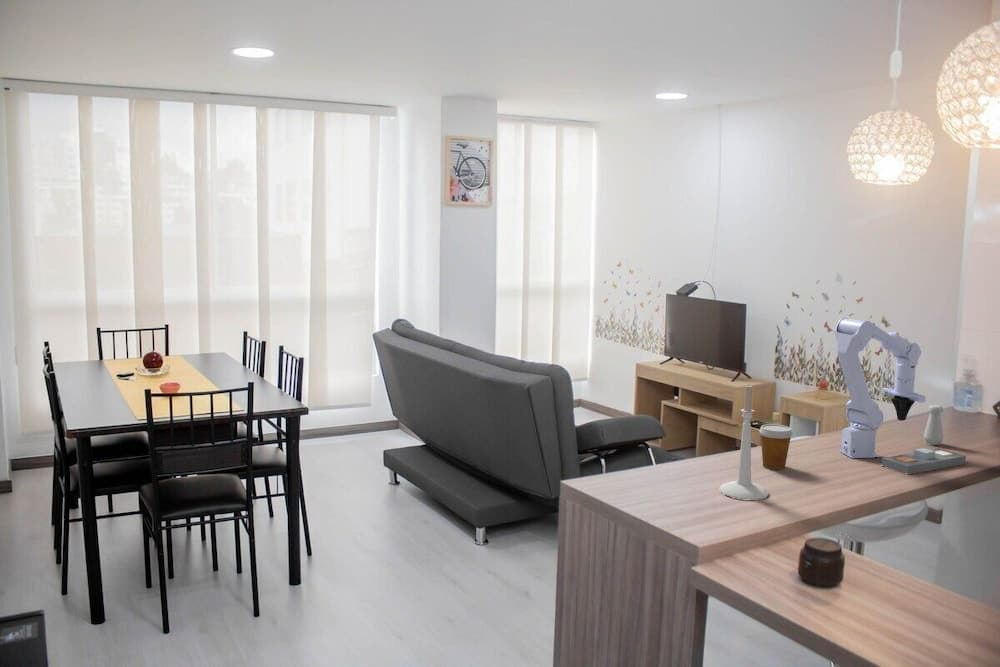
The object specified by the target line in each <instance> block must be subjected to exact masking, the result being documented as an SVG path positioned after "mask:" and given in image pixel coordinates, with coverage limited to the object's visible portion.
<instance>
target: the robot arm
mask: <svg viewBox="0 0 1000 667" xmlns="http://www.w3.org/2000/svg"><path fill="white" fill-rule="evenodd" d="M833 333H834V336H835V339H836V342H837V356H838V358H839V362H840V365H841V369H842V374H843V378H844V379H845V384H846V388H847V390H848V395H849V397H850V400H848V401H847V402H846V403H845V408H846V409H845V410H846V412H845V417H846V419H847V421H848V422H849V426H848V427H844V428H843V429H842V431H841V439H840V440H841V441H840V449H839V452H840V453H842V454H844V455H846V456H848V457H849V458H851V459H869V458H871V459H872V458H874V459H875V457H877V458H881V455H879V454H877V453H875V452H876V438H877V430H878V429H879V428H880V427H881V425H882V424H883V421H884V413H883V411H882V410H881V409H880V408H879V407H880V406H879V404H878V403H877V402H876V401H875V400H874V399H872V398H871V396H870V392H869V389H868V386H867V381H866V379H865V373H864V371H863V367H862V362H861V360H860V356H859V352H862V351H864V349H865V348H866V346H867V345H868V343H870V341H871V340H872V339H873V340H875V341H877V342H880V346H881V347H882V348H883V349H884V350H886V351H888V352H890V353H891V354H892V356H893V357H894V358H895V370H894V372H895V374H894V385H893V386H894V387H893V388H890V387H883V388H882V391H881V392H882V395H888V396H893V397H891V399H890V400H891V403H892V404H893V407H894V409H895V413H896V418H897V421H900V422H902V421H906V420H907V416H908V414H909V411H910V409H911V408H912V407H913V405H914V404H915V402H918V403H921V404H922V403H926V399H927V398H926V397H927V396H926V395H922V394H919V393H917V392H915V380H916V367H917V365H918V364H919V363H918V362H919V359H920V357H921V354H922V350H921V347H920V345H919V344H918V343H916V342H912V341H909V339H908V338H907V337H902V335H900V333H899V332H898V331H889V332H886V331H885V330H883V329H882V328H880V327H879V326H877V325H876V324H875V323H874V322H871V321H870V320H860V319H852V318H849V317H848V318H847V317H842V318H840V319H839V320H838V321H837V323H836V326H835V327H834V330H833Z"/></svg>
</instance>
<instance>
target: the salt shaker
mask: <svg viewBox="0 0 1000 667" xmlns="http://www.w3.org/2000/svg"><path fill="white" fill-rule="evenodd" d="M927 408H928V412H929V416H928V419H927V423H926V426H925V431H924V432H923V433H924V434H923V438H924V439H923V440H924V441H925V444H926V445H928V444H930V445H929V446H933V445H939V446H940V445H941V443H942V442H943V441H944V434H943V433H944V432H943V424H942V423H943V422H942V414H943V413H944V409H943V406H942V405H939V404H930V405H929V406H928V407H927Z"/></svg>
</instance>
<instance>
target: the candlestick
mask: <svg viewBox="0 0 1000 667" xmlns="http://www.w3.org/2000/svg"><path fill="white" fill-rule="evenodd" d="M752 407H753V386H752V385H750V384H748V385H744V396H743V408H742V409H740V412H741V413H742V414H741V416H742V418H743V422H742V431H741V442H740V451H739V459H738V460H739V462H738V472H737V479H736V480H731V481H728V482H725V483H723V484H721V485H720V486H719V487H718V488H719V489H718V490H720V491H721V492H722V493H724V494H725V495H727V496H730V497H734V498H740V499H750V500H755V501H757V500H756V499H762V500H764V499H763V498H765V499H767V498H768V497H769V491H768V490H767V489H766V487H764V486H763V485H760V484H758V483H756V482H753V481H752V446H751V445H752V440H751V437H752V436H751V434H752V433H751V431H752V430H751V429H752V428H751V427H752V426H751V425H752V424H751V419H752V418H753V413H755V410H754V409H752ZM727 496H726V497H727ZM767 496H768V497H767ZM766 497H767V498H766Z"/></svg>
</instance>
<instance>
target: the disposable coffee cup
mask: <svg viewBox="0 0 1000 667" xmlns="http://www.w3.org/2000/svg"><path fill="white" fill-rule="evenodd" d="M758 432H759V435H760V443H761V444H760V445H761V446H760V447H761V458H762V466H763V467H764V468H765V467H767V468H766V469H768V468H770V469H769V470H774V469H781V470H784V469H785V468H786V463H787V460H788V459H787V458H788V453H789V449H790V448H789V447H790V444H791V443H790V442H791V438H792V435H793V434H794V433H793V431H792V428H791V427H790V426H787V425H783V424H775V423H769V424H768V423H766V424H762V425H761V426H760V429H759V430H758ZM783 468H784V469H783Z"/></svg>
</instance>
